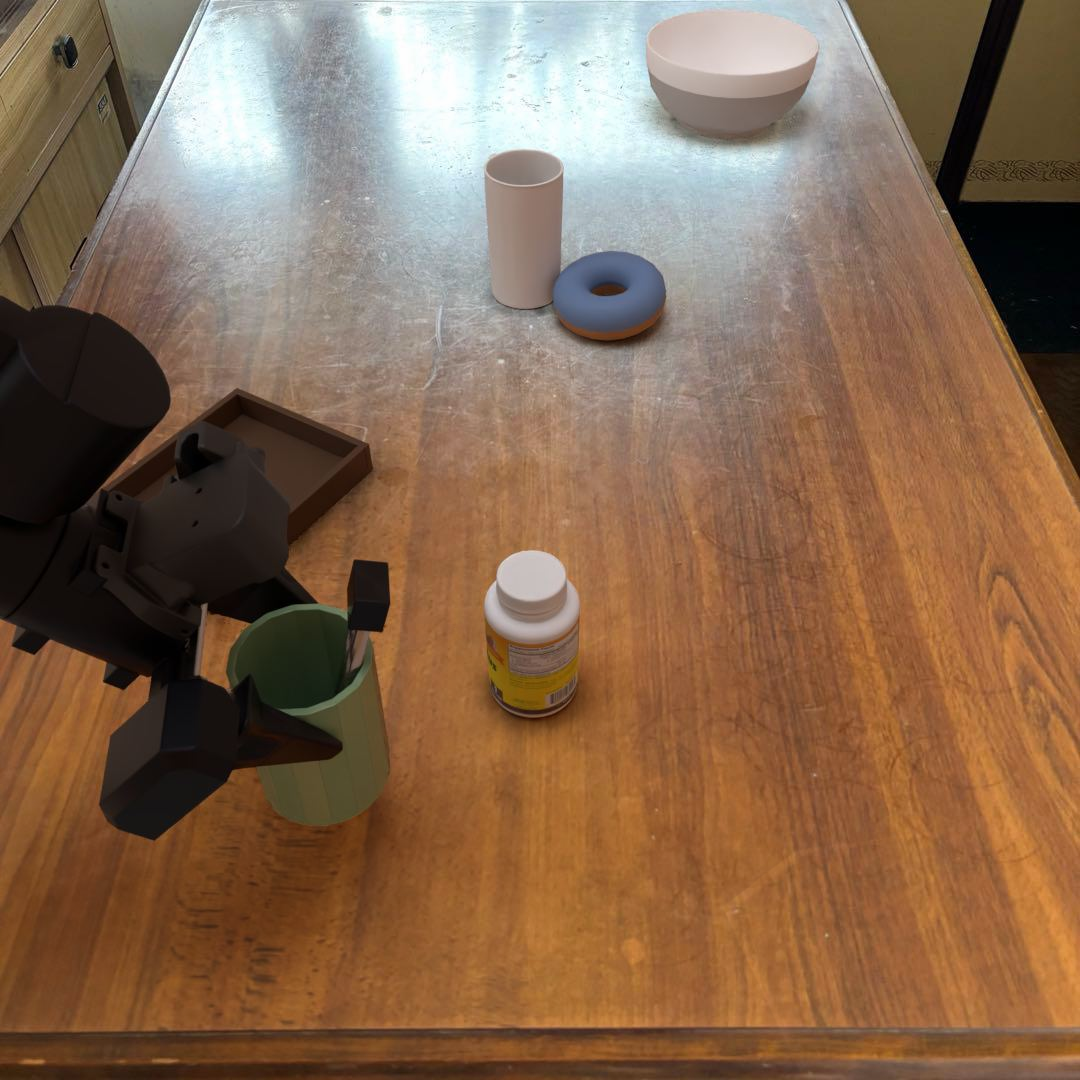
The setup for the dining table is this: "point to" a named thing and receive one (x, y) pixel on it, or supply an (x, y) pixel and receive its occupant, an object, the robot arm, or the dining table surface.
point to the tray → (269, 457)
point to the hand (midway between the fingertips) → (337, 691)
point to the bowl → (729, 69)
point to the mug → (524, 225)
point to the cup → (316, 711)
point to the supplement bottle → (532, 635)
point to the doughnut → (609, 314)
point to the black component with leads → (363, 615)
